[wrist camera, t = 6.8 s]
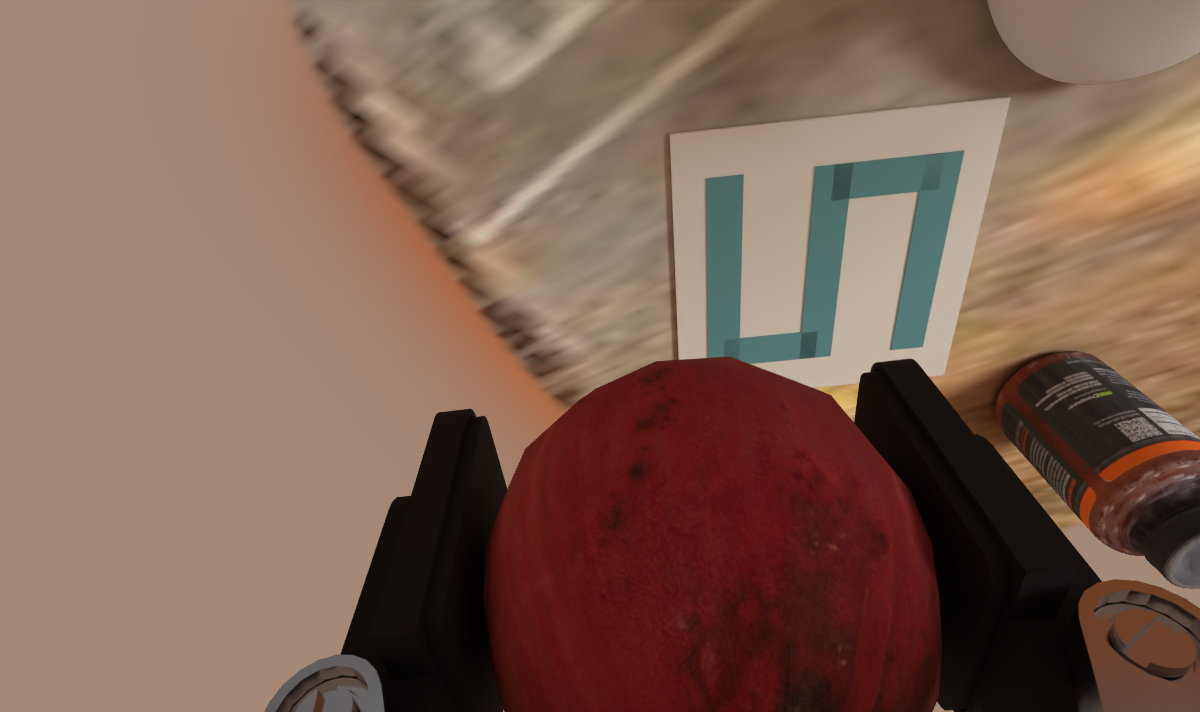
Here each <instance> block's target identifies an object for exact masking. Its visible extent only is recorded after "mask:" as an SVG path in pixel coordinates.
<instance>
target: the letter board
mask: <svg viewBox="0 0 1200 712" xmlns="http://www.w3.org/2000/svg"><path fill="white" fill-rule="evenodd" d="M1010 100H1011V97H1009V96H1006V97H997V98H988V99H979V100H970V101H961V102H952V103H943V104H934V105H925V106H916V107H907V108H898V109H889V110H880V111H871V112H862V113H853V114H844V115H835V116H826V117H816V118H807V119H798V120H789V121H780V122H771V123H762V124H753V125H744V126H735V127H726V128H717V129H708V130H699V131H690V132H681V133H672V134H669V136H670V161H671V186H672V211H673V236H674V261H675V286H676V311H677V336H678V360H684V359H698V358H712V357H726V356H730V357H732V358H735V359H738V360H741V361H743V362H746V363H749V364H751V365H754V366H757V367H759V368H762V369H765V370H767V371H770V372H773V373H775V374H778V375H781V376H783V377H786V378H789V379H792V380H794V381H797V382H799V383H802V384H804V385H807V386H809V387H812V388H814V387H825V386H835V385H845V384H856V383H859V382H860V377H861V375H862V374H863V373H867V372H870V371H871V367H872V366H873V364H874V363H876V362H884V361H892V360H901V359H914V360H915V361H916V362H917V363H918V364H919V365H920V366H921V368H922V369H923V370H924V371H925V373H926V374H927V375H928V376H938V375H944V373H945V369H946V365H947V360H948V356H949V352H950V348H951V344H952V340H953V336H954V331H955V327H956V323H957V319H958V315H959V311H960V307H961V302H962V298H963V294H964V290H965V286H966V282H967V278H968V273H969V269H970V265H971V261H972V257H973V253H974V249H975V244H976V240H977V236H978V232H979V228H980V224H981V220H982V216H983V211H984V207H985V203H986V199H987V195H988V191H989V187H990V182H991V178H992V174H993V170H994V166H995V162H996V158H997V153H998V149H999V145H1000V141H1001V137H1002V133H1003V129H1004V124H1005V120H1006V116H1007V112H1008V108H1009V104H1010Z"/></svg>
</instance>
